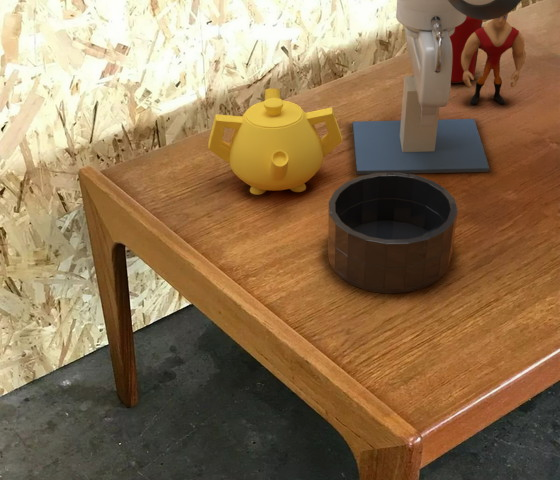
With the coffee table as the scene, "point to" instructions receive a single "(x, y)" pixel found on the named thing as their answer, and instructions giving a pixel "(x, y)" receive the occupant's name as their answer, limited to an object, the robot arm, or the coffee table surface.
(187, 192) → the coffee table surface
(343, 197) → the pot
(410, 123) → the item
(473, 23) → the beverage can
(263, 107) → the teapot
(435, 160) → the blue rectangular board
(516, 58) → the action figure
